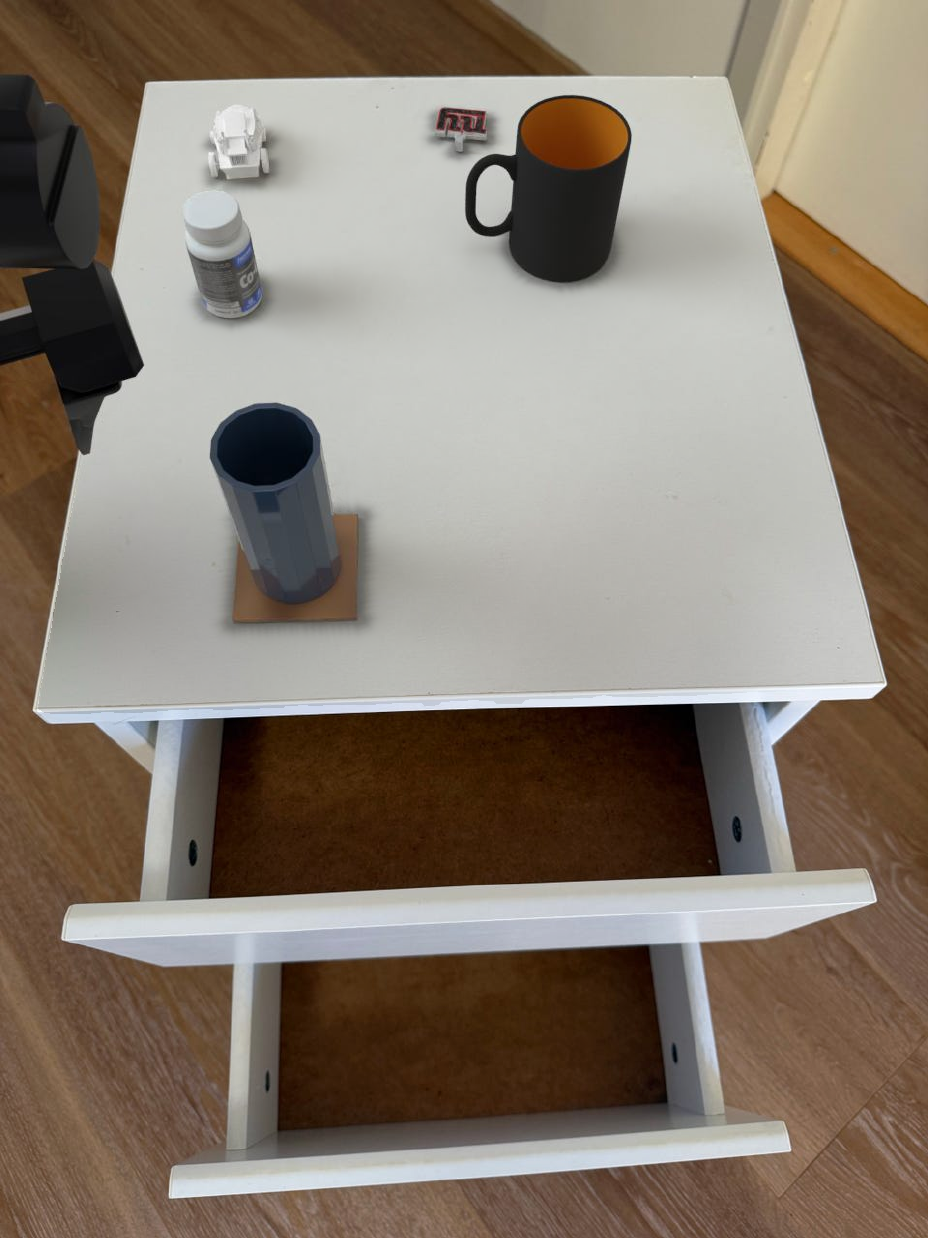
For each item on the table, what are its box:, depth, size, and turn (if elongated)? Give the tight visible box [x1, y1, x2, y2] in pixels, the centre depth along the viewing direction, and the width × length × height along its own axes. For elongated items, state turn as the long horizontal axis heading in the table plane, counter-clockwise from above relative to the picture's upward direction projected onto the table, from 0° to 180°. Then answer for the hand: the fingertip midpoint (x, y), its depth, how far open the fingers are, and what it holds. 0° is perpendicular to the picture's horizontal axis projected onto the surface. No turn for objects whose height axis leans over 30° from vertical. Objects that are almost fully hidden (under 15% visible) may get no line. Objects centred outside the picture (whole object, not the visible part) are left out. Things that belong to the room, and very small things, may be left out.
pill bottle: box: [182, 189, 263, 319], centre depth 73 cm, size 5×5×8 cm
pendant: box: [434, 106, 488, 153], centre depth 85 cm, size 4×1×5 cm
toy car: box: [207, 104, 270, 180], centre depth 82 cm, size 5×8×4 cm, turn 8°
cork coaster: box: [231, 513, 359, 624], centre depth 65 cm, size 8×8×1 cm
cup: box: [209, 402, 342, 604], centre depth 60 cm, size 6×6×13 cm
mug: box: [464, 94, 633, 283], centre depth 75 cm, size 8×12×10 cm
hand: (0, 474), depth 53 cm, fingers open, 9 cm apart
